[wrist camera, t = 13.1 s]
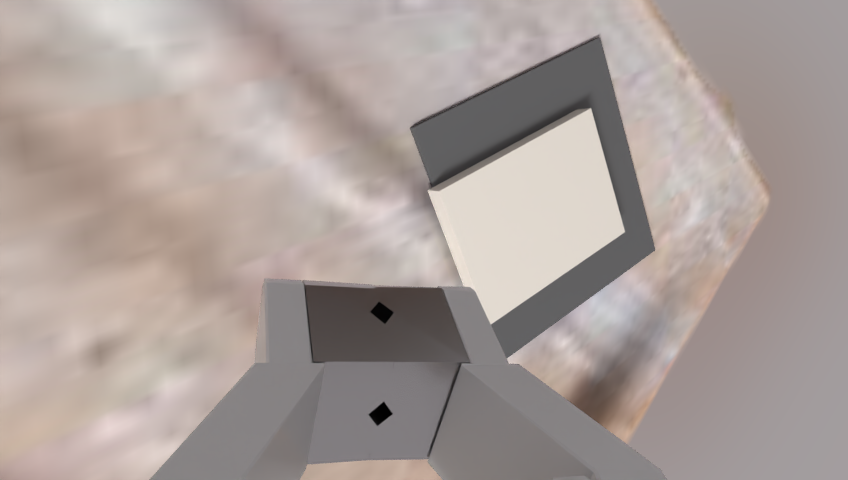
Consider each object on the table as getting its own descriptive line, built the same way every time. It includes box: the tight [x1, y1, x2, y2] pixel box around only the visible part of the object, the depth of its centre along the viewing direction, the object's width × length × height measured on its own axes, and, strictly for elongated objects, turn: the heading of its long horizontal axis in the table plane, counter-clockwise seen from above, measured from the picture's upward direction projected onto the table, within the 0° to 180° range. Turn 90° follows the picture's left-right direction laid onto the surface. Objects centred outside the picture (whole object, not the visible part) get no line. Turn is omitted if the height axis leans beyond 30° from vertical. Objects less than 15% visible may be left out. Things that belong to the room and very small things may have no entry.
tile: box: [428, 108, 625, 324], centre depth 45 cm, size 10×2×14 cm
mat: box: [410, 38, 655, 359], centre depth 47 cm, size 18×18×1 cm
